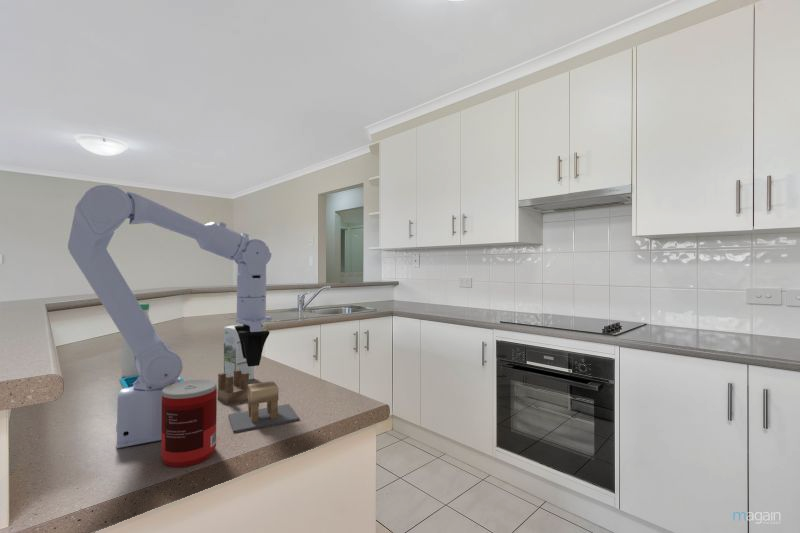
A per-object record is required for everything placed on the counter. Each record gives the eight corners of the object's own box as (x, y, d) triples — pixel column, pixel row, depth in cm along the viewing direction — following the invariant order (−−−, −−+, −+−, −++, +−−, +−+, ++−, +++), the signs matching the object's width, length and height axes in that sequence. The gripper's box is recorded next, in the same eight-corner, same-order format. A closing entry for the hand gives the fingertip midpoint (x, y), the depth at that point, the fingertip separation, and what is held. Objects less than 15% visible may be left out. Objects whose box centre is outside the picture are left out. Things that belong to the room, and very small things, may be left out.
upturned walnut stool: (227, 405, 83) (227, 377, 83) (217, 400, 86) (217, 373, 86) (249, 399, 86) (249, 373, 86) (238, 394, 90) (239, 369, 90)
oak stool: (278, 418, 74) (278, 387, 74) (251, 423, 72) (251, 391, 72) (273, 409, 78) (273, 380, 78) (247, 414, 76) (247, 384, 76)
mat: (233, 432, 68) (233, 430, 68) (228, 416, 76) (228, 414, 76) (299, 420, 74) (299, 418, 74) (288, 405, 82) (288, 403, 82)
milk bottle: (142, 378, 102) (143, 304, 102) (114, 378, 102) (115, 304, 102) (161, 370, 110) (161, 302, 110) (135, 370, 110) (135, 302, 110)
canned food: (203, 439, 65) (203, 376, 66) (225, 454, 60) (225, 385, 60) (153, 456, 59) (153, 387, 60) (172, 474, 54) (173, 397, 55)
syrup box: (255, 378, 102) (255, 325, 103) (235, 384, 97) (235, 328, 98) (242, 375, 105) (242, 323, 106) (222, 380, 100) (222, 326, 101)
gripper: (277, 298, 74) (277, 367, 74) (265, 294, 87) (265, 353, 87) (239, 299, 71) (238, 371, 71) (232, 295, 84) (232, 356, 84)
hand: (250, 361), depth 79 cm, fingers open, 7 cm apart
